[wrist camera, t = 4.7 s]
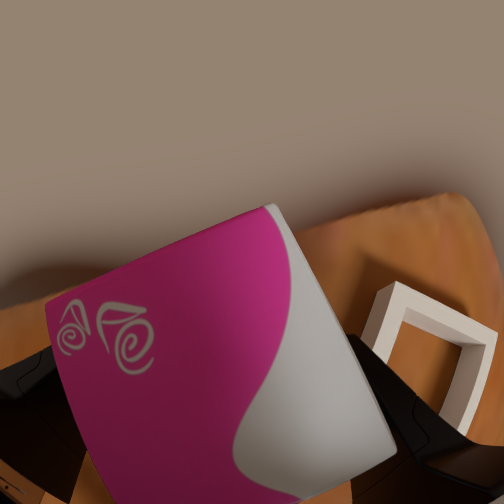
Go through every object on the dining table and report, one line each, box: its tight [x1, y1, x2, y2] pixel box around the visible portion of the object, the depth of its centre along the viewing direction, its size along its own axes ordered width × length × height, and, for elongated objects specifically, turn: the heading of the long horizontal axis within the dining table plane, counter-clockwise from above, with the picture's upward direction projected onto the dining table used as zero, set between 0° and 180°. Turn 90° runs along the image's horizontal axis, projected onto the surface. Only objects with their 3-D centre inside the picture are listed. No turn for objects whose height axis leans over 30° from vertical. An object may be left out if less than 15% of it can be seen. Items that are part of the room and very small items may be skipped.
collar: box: [360, 281, 498, 436], centre depth 14 cm, size 10×10×3 cm
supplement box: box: [45, 203, 397, 504], centre depth 9 cm, size 6×6×12 cm
